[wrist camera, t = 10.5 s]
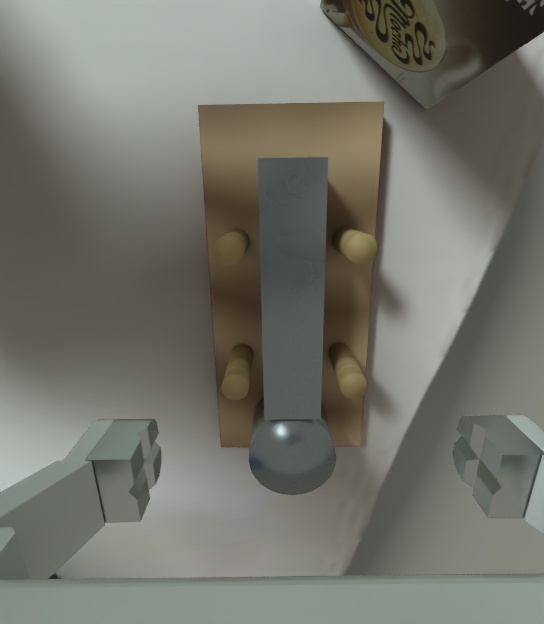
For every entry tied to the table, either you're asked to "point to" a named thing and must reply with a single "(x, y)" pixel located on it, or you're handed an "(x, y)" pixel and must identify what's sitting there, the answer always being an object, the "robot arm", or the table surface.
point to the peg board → (246, 248)
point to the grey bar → (292, 327)
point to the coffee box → (437, 38)
